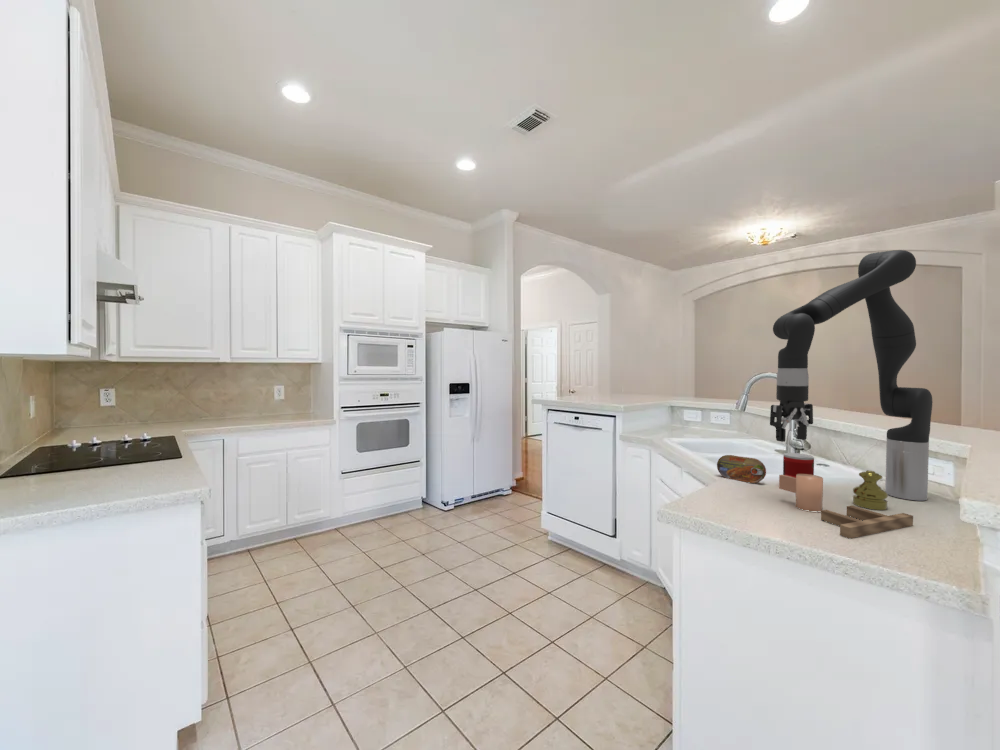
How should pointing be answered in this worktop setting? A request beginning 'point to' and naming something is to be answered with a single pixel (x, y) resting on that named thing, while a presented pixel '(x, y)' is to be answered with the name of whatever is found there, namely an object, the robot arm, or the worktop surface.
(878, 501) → the brass doorknob
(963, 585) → the worktop surface
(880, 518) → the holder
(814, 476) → the tan paddle shape
